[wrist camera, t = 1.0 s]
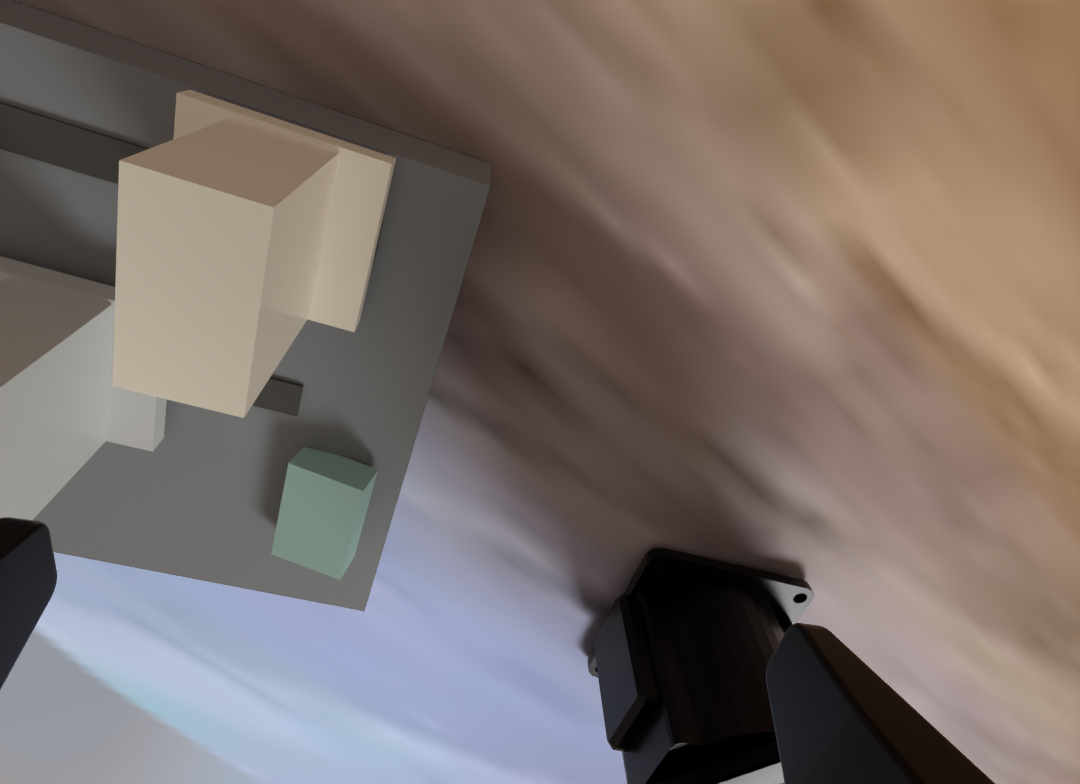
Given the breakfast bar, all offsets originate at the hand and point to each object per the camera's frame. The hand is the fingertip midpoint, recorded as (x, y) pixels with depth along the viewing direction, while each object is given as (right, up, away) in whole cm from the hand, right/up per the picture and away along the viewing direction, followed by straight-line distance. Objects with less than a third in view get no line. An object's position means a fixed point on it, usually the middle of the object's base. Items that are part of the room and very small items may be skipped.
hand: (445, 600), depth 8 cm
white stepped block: (-10, +3, +7) cm, 12 cm away
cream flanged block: (-4, +6, +6) cm, 10 cm away
